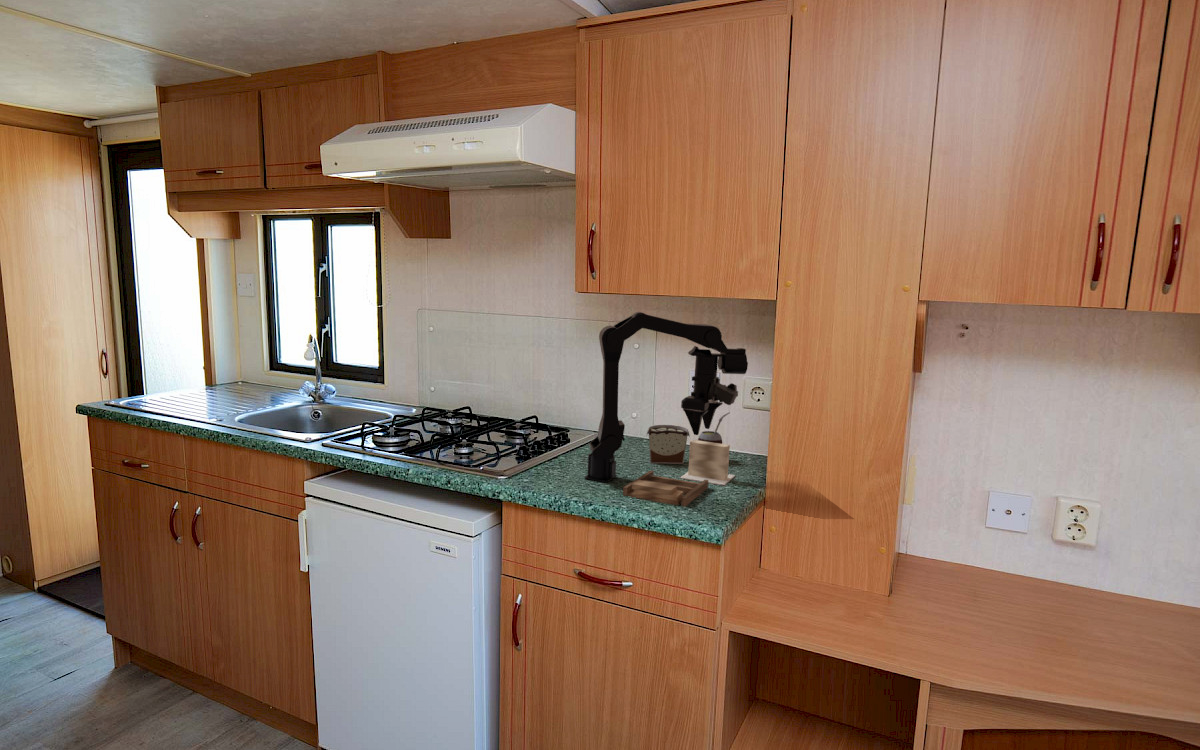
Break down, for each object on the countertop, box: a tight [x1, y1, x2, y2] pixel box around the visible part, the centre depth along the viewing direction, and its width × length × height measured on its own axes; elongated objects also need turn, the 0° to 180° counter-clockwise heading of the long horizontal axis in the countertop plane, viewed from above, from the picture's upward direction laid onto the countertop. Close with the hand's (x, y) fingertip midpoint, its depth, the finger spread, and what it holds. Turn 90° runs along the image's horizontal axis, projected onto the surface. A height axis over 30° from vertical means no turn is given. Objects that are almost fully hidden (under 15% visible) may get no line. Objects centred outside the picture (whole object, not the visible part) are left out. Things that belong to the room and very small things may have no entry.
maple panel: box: [687, 439, 731, 481], centre depth 189 cm, size 10×3×9 cm, turn 63°
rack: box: [622, 470, 709, 507], centre depth 176 cm, size 16×17×2 cm
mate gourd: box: [697, 412, 730, 444], centre depth 207 cm, size 8×8×15 cm
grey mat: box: [679, 471, 736, 487], centre depth 190 cm, size 12×10×1 cm
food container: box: [646, 424, 691, 465], centre depth 205 cm, size 12×6×10 cm, turn 92°
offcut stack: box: [626, 480, 684, 506], centre depth 171 cm, size 13×5×4 cm, turn 65°
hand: (701, 431), depth 187 cm, fingers open, 9 cm apart
